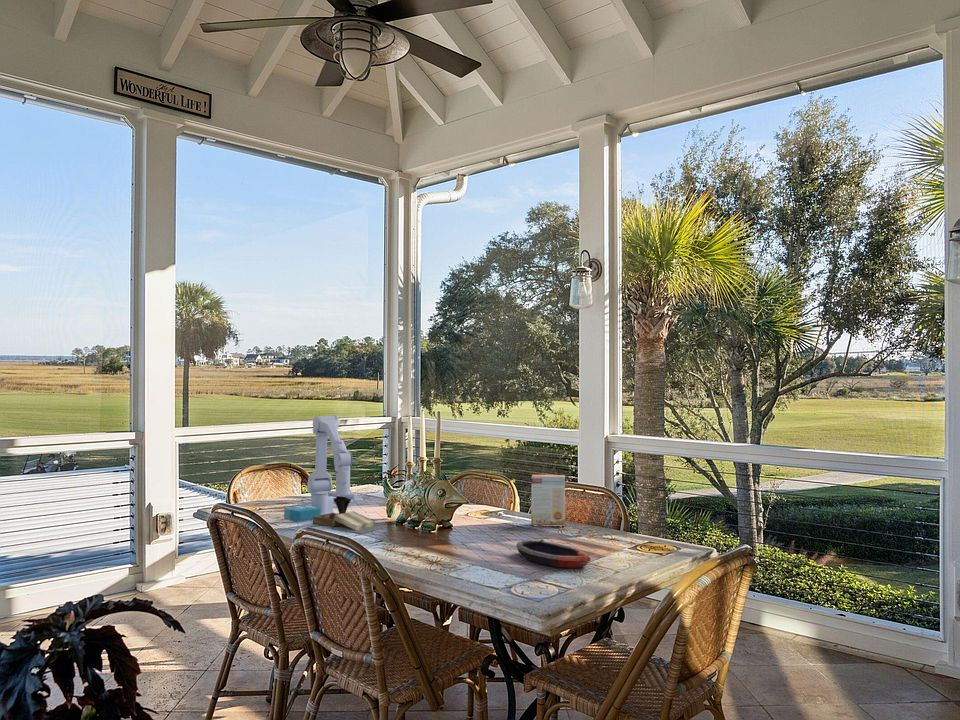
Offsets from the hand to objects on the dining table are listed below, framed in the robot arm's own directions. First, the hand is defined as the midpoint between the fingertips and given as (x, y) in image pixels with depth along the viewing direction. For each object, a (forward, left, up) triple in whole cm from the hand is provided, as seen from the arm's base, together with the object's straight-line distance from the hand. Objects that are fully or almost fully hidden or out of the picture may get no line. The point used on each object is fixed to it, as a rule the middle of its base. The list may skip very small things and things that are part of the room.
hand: (342, 515), depth 301 cm
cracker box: (-50, +68, -4) cm, 85 cm away
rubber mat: (0, +9, -4) cm, 10 cm away
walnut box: (0, -5, -4) cm, 6 cm away
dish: (+2, +96, -4) cm, 97 cm away
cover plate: (0, +6, -2) cm, 7 cm away
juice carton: (-27, +20, -4) cm, 34 cm away
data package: (+6, -24, -2) cm, 25 cm away
